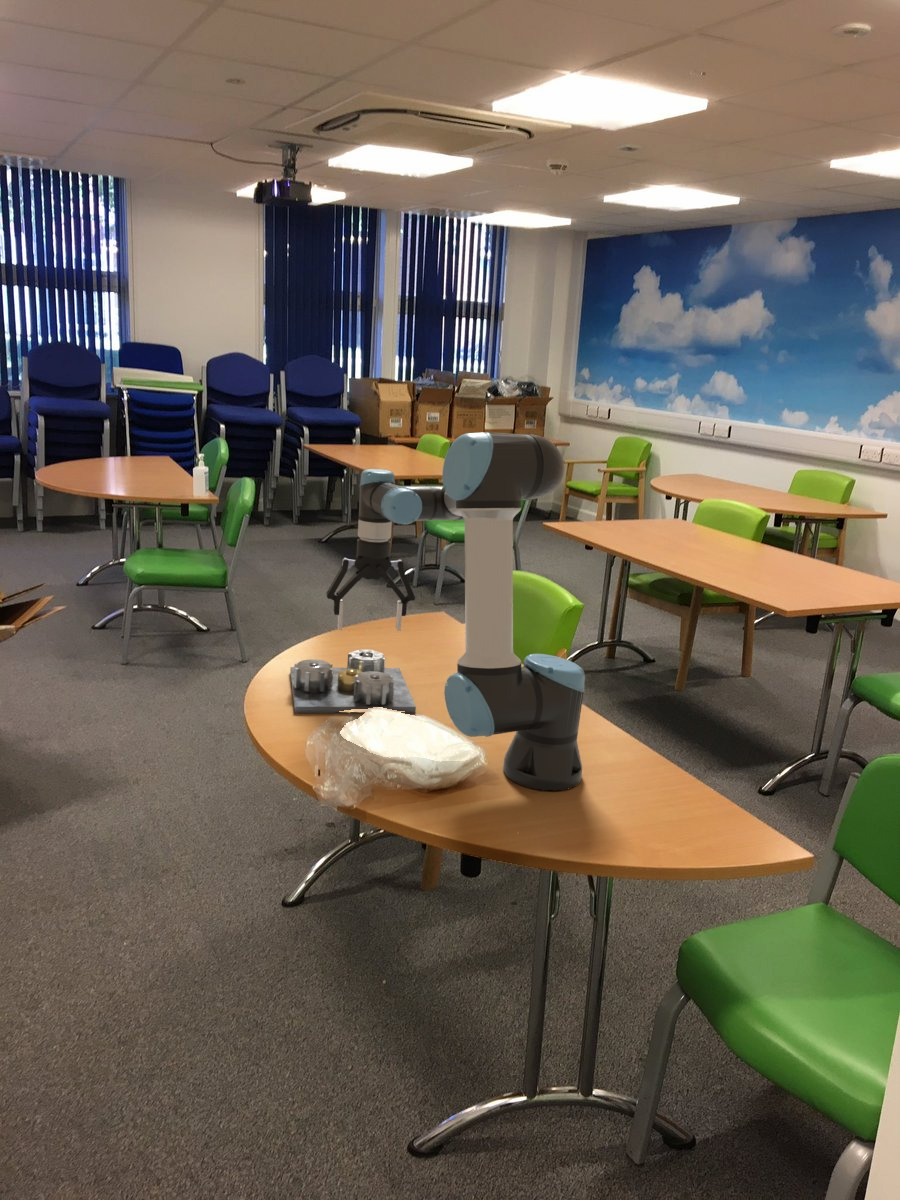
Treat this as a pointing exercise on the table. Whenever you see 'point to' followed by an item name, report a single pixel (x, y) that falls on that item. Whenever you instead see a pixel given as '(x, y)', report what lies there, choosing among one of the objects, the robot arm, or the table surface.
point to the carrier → (347, 688)
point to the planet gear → (366, 661)
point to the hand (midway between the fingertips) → (369, 628)
